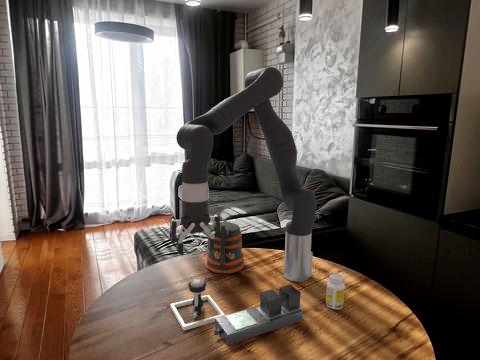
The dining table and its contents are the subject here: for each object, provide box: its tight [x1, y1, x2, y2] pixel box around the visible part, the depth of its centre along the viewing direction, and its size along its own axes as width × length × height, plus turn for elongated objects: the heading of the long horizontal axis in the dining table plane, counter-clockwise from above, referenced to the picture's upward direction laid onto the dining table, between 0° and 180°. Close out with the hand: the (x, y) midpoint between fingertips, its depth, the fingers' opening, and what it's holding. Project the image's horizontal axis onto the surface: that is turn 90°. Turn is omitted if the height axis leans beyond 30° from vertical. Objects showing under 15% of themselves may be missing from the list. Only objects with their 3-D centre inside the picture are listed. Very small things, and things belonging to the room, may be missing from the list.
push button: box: [187, 277, 207, 319], centre depth 100 cm, size 7×5×10 cm
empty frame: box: [169, 294, 226, 332], centre depth 101 cm, size 13×13×1 cm
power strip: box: [213, 284, 304, 346], centre depth 95 cm, size 27×8×8 cm, turn 117°
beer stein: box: [206, 219, 245, 275], centre depth 128 cm, size 19×15×20 cm
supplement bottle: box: [325, 273, 346, 310], centre depth 105 cm, size 5×5×10 cm
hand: (195, 252), depth 97 cm, fingers open, 8 cm apart
